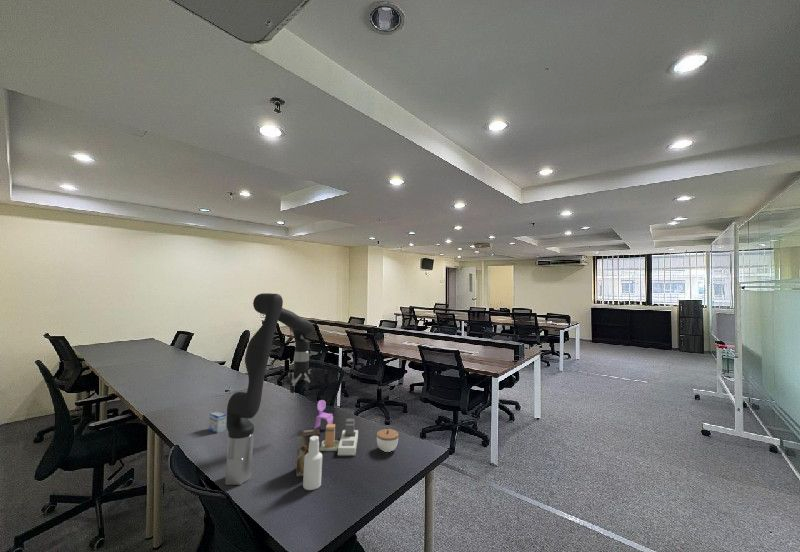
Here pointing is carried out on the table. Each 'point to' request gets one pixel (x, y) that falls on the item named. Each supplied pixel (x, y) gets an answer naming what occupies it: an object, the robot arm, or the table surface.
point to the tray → (322, 448)
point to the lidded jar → (387, 439)
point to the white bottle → (312, 465)
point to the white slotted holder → (348, 440)
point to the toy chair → (323, 414)
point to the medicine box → (217, 422)
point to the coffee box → (304, 447)
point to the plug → (330, 436)
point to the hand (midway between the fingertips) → (299, 391)
